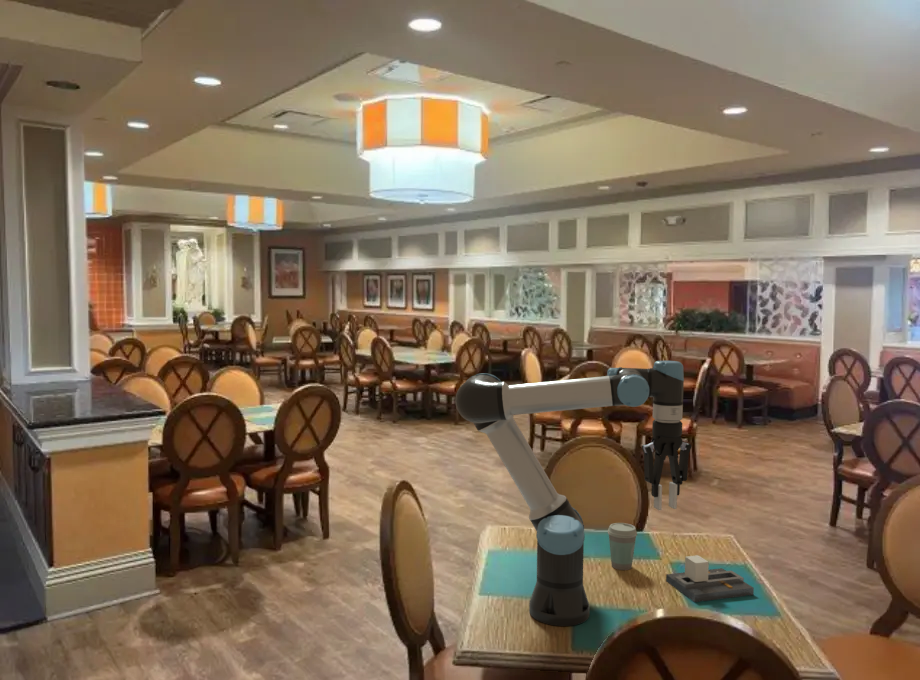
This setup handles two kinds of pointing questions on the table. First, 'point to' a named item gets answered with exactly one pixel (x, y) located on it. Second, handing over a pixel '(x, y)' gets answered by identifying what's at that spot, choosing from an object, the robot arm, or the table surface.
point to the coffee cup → (622, 545)
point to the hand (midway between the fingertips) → (665, 507)
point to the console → (711, 585)
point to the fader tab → (696, 568)
